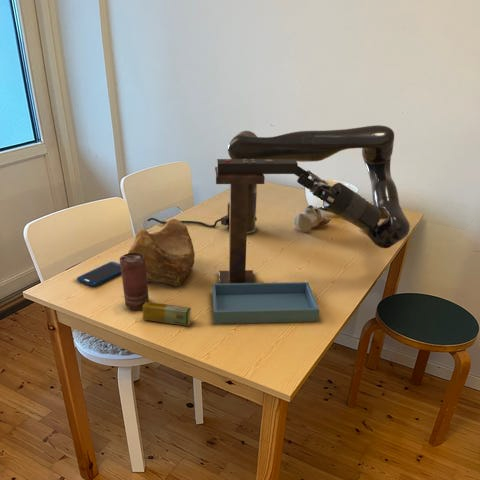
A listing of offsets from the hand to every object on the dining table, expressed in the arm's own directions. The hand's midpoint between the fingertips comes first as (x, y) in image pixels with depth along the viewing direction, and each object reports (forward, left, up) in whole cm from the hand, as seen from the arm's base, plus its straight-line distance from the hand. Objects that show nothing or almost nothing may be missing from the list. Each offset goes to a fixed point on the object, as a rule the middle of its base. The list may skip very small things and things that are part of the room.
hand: (295, 172), depth 123 cm
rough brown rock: (-29, -19, -32) cm, 47 cm away
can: (-25, -36, -32) cm, 54 cm away
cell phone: (-45, -30, -32) cm, 63 cm away
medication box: (-13, -37, -32) cm, 50 cm away
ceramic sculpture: (-15, +41, -32) cm, 54 cm away
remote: (-8, -7, 0) cm, 10 cm away
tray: (+2, -16, -32) cm, 36 cm away
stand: (-11, -9, -32) cm, 35 cm away
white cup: (+5, +52, -32) cm, 61 cm away
